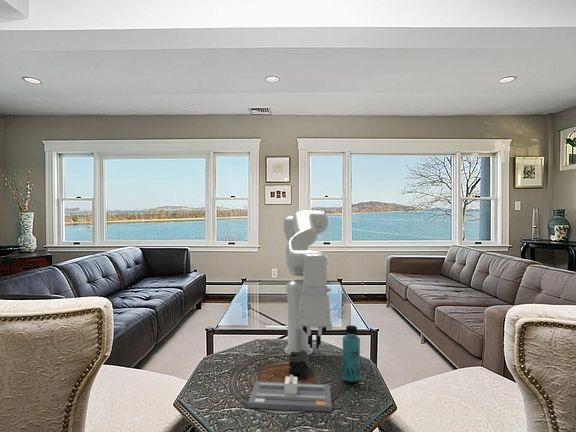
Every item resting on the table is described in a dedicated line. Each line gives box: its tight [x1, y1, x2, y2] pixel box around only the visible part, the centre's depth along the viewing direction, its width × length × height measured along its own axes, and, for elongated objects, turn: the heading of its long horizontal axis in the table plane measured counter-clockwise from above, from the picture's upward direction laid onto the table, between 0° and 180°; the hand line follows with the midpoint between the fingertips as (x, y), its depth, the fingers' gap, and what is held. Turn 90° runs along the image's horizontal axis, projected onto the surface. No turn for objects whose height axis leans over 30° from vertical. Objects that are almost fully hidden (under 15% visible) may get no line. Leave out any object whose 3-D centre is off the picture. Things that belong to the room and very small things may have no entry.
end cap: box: [288, 350, 310, 378], centre depth 133 cm, size 10×7×7 cm
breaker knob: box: [284, 375, 298, 395], centre depth 114 cm, size 5×4×5 cm
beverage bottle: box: [341, 325, 361, 382], centre depth 125 cm, size 6×7×20 cm
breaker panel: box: [247, 381, 333, 413], centre depth 114 cm, size 14×26×2 cm, turn 86°
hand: (314, 346), depth 113 cm, fingers closed
